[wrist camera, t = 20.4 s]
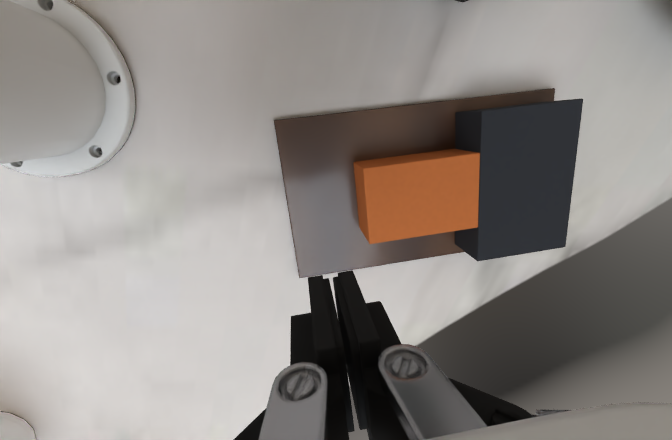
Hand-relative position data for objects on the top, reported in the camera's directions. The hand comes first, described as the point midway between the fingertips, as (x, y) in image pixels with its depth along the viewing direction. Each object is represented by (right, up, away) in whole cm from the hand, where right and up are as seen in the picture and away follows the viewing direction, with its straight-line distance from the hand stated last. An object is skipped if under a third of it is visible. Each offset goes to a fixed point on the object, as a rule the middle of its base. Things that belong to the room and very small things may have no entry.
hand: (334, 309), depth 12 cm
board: (+8, +6, +17) cm, 20 cm away
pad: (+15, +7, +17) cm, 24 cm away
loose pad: (+6, +6, +16) cm, 19 cm away
